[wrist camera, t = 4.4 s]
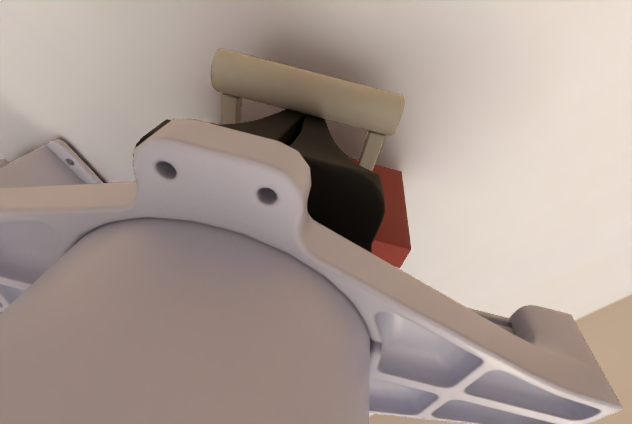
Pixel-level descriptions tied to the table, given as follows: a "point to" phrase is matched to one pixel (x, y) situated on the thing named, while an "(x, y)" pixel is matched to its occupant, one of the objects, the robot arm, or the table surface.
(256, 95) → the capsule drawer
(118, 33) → the table surface
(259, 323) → the robot arm
